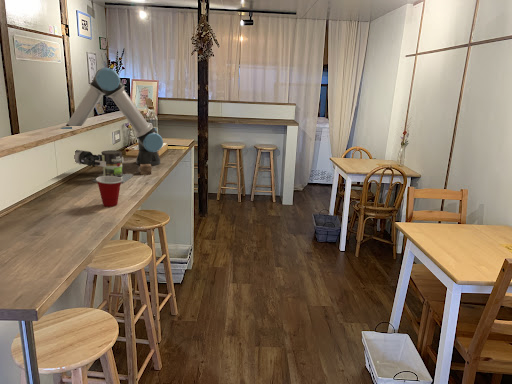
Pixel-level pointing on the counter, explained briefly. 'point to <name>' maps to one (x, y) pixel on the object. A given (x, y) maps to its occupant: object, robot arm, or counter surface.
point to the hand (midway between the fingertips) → (114, 162)
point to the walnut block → (145, 168)
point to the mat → (125, 178)
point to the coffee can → (112, 163)
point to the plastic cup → (109, 189)
